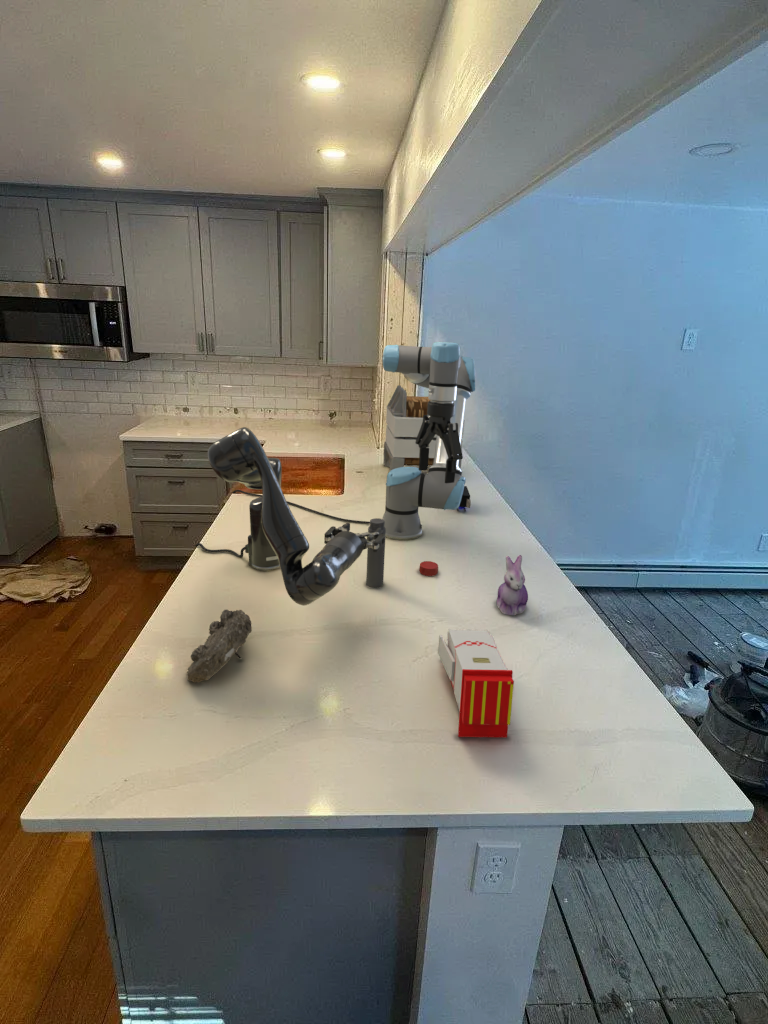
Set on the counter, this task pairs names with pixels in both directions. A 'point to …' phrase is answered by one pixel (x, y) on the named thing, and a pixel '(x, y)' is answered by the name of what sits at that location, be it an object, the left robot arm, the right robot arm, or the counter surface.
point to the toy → (478, 682)
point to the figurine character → (465, 500)
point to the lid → (428, 568)
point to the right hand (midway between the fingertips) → (435, 476)
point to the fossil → (219, 645)
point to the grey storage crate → (406, 430)
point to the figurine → (512, 589)
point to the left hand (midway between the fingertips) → (364, 528)
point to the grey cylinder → (375, 558)
